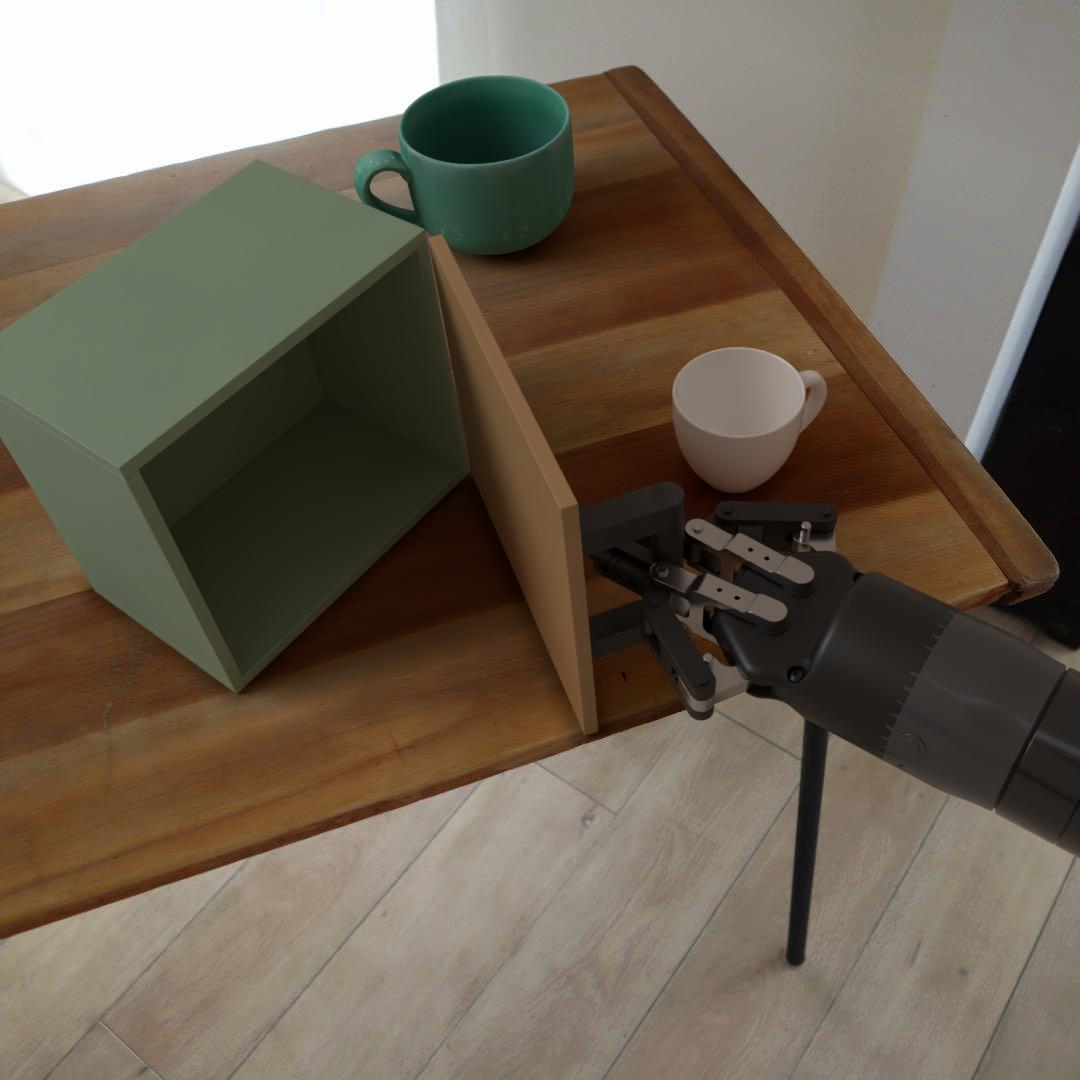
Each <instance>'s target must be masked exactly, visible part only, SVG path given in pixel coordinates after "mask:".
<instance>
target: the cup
mask: <svg viewBox="0 0 1080 1080" xmlns="http://www.w3.org/2000/svg"><path fill="white" fill-rule="evenodd" d="M827 386H828V385H827V383H826V380H825V379H824V377H823V376H822V374H820V373H819V372H818V371H816V370H812V369H809V370H808V369H807V370H801V371H798V370H797V369H796V368H795V367H794V366H793V365H792V364H791V363H790V362H789V361H787V360H786V359H784V358H783V357H781V356H779V355H777V354H775V353H771V352H769V351H766V350H762V349H759V348H753V347H744V346H738V347H737V346H733V347H722V348H718V349H714V350H710V351H707V352H703V353H702V354H699V355H698V356H696V357H694V358H693V359H691V360H689V361H688V362H687V363H686V364H685V365H683V367H682V368H681V369H680V370H679V371H678V373H677V375H676V376H675V379H674V381H673V384H672V390H671V410H672V411H671V412H672V413H671V414H672V424H673V431H674V435H675V438H676V442H677V445H678V446H679V450H680V452H681V454H682V456H683V458H684V460H685V461H686V463H687V464H688V466H689V467H690V469H691V470H692V471H693V472H694V473H695V474H696V476H698V477H699V478H700V479H701V480H702V481H704V482H705V483H706V484H707V485H708V486H710V487H712V488H713V489H715V490H717V491H718V492H719V491H720V492H722V493H727V494H743V493H747V492H749V491H752V490H754V489H756V488H758V487H759V486H761V485H763V484H764V483H766V482H767V481H769V480H770V479H771V478H772V477H774V476H775V475H776V474H777V473H778V472H779V471H780V469H781V468H782V467H783V466H784V465H785V463H786V462H787V460H788V459H789V458H790V456H791V454H792V453H793V450H794V449H795V446H796V444H797V441H798V439H799V436H800V435H801V434H802V433H803V432H804V431H805V430H806V429H807V428H808V427H809V425H810V424H811V423H812V422H813V421H814V420H815V419H816V418H817V416H818V415H819V414H820V412H821V411H822V409H823V407H824V405H825V402H826V400H827V397H828V396H827V395H828V387H827ZM808 388H809V394H808V397H807V390H806V389H808ZM806 397H807V398H806Z"/></svg>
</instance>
